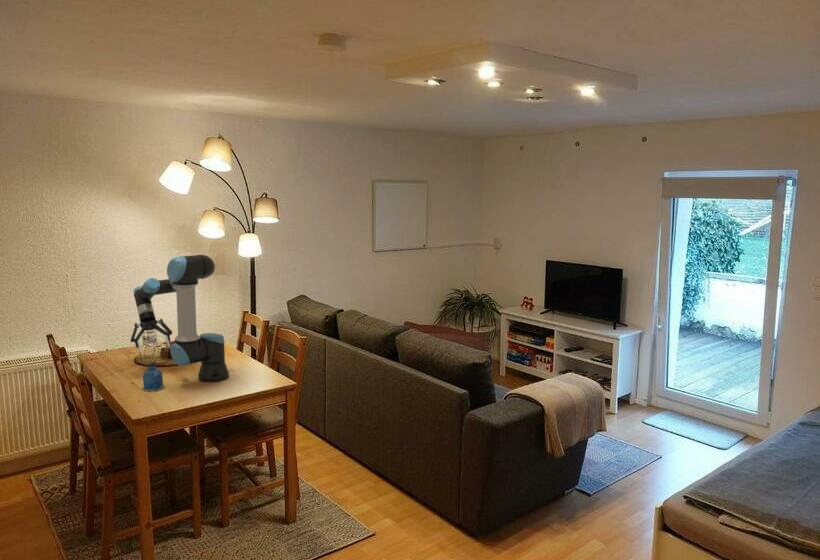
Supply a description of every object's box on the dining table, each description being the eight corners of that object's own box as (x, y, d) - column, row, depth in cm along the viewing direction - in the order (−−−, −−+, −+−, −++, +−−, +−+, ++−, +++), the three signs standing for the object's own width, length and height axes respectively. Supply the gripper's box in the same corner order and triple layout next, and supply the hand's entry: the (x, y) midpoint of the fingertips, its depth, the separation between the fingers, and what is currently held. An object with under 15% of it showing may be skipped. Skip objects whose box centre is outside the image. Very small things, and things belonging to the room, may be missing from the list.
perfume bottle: (155, 389, 285) (153, 365, 283) (143, 388, 286) (141, 365, 284) (163, 384, 291) (160, 361, 289) (151, 384, 292) (149, 361, 290)
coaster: (169, 386, 291) (169, 385, 291) (154, 393, 282) (154, 391, 282) (152, 383, 295) (152, 382, 294) (137, 390, 285) (137, 389, 285)
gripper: (170, 312, 321) (179, 347, 314) (120, 321, 308) (128, 358, 301) (171, 306, 315) (180, 342, 308) (120, 315, 303) (128, 352, 295)
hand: (155, 350), depth 304 cm, fingers open, 13 cm apart
